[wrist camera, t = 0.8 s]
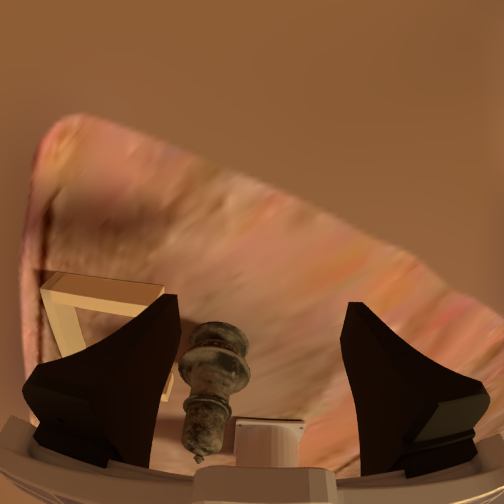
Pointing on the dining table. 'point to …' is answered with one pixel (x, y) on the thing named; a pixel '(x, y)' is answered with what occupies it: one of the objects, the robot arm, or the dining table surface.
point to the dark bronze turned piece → (211, 384)
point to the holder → (93, 306)
